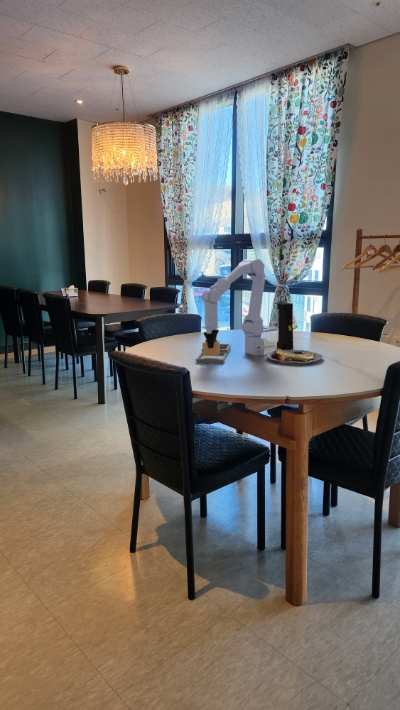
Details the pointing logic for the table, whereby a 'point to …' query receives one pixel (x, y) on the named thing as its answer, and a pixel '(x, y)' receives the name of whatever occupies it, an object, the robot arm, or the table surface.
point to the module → (211, 349)
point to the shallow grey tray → (211, 358)
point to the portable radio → (285, 326)
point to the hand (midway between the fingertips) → (211, 346)
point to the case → (224, 348)
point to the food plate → (293, 356)
